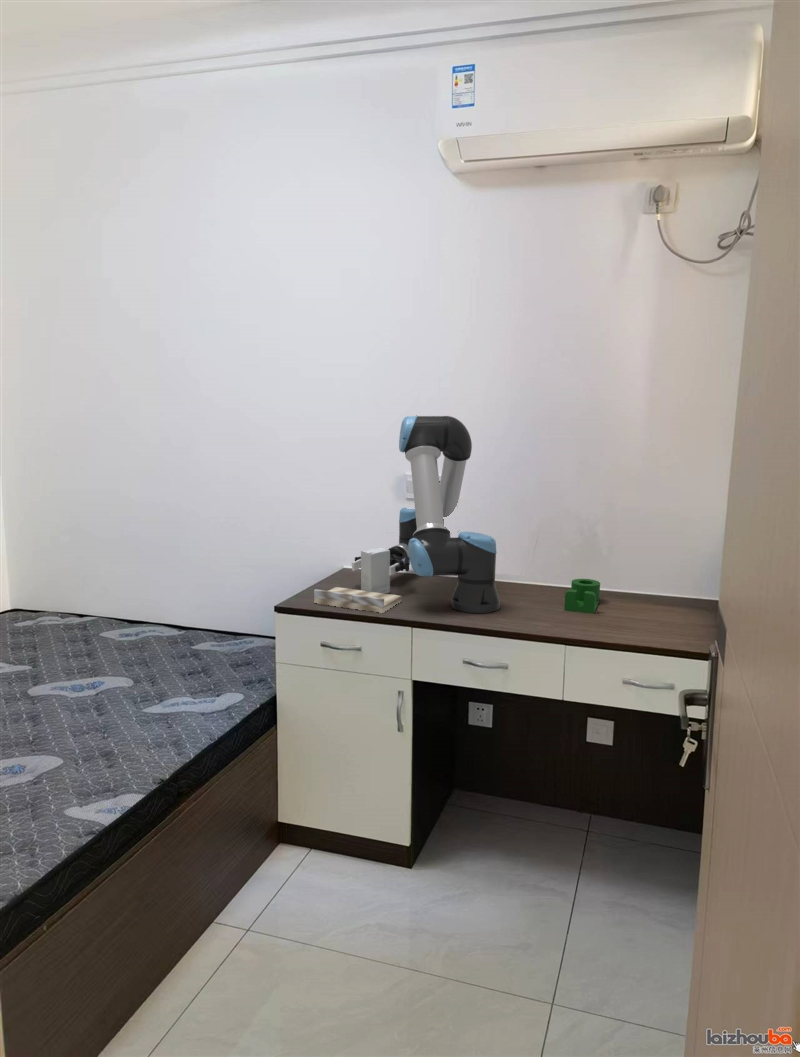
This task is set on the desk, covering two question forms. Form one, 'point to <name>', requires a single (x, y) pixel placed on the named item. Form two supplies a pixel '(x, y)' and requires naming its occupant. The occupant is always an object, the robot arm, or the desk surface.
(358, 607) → the shelf board
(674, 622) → the desk surface
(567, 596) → the slotted cylinder bracket
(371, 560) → the skincare box
